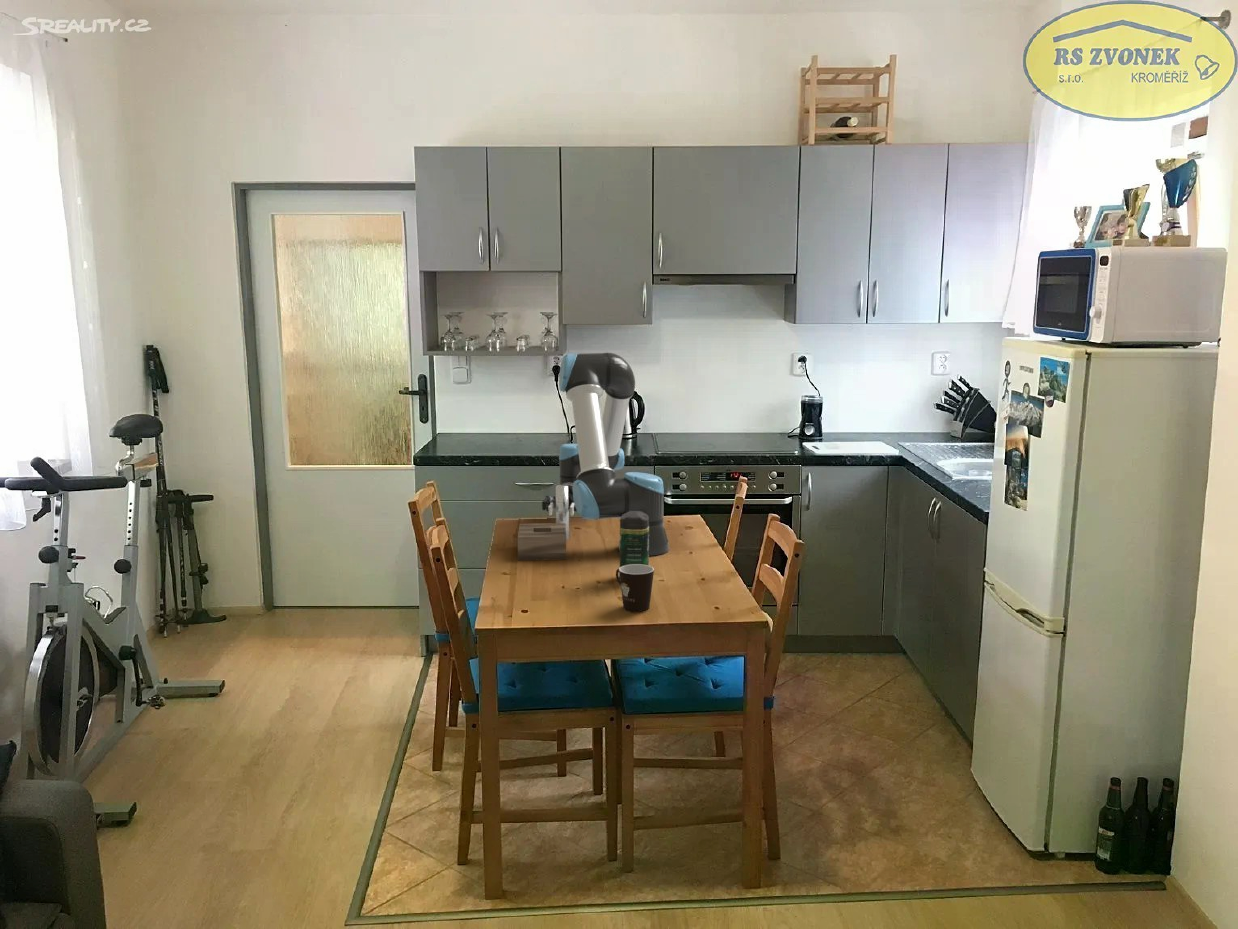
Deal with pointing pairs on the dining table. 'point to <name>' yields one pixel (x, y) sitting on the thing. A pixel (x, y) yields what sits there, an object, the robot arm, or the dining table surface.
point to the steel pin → (562, 506)
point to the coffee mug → (635, 586)
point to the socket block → (542, 541)
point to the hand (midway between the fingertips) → (560, 511)
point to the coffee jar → (634, 538)
